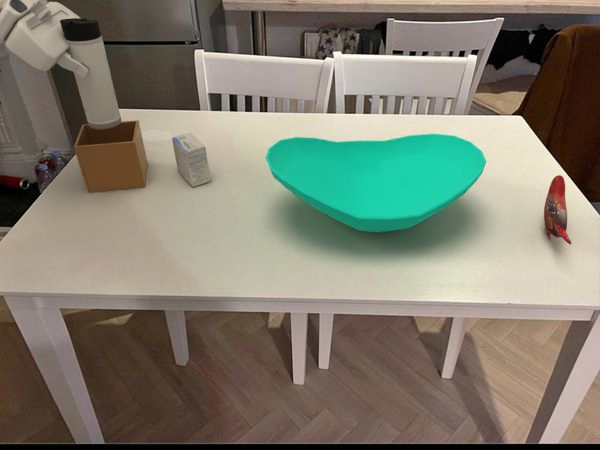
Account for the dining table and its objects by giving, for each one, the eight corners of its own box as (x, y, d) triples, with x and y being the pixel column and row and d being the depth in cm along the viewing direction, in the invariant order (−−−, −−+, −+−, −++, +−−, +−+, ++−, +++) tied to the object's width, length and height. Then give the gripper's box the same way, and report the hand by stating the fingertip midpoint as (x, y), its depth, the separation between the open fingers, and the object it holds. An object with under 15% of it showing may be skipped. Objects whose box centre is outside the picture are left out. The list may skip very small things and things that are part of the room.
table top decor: (269, 264, 79) (266, 200, 71) (266, 179, 101) (264, 123, 93) (494, 255, 82) (516, 192, 74) (444, 174, 104) (456, 118, 96)
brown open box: (88, 192, 96) (73, 147, 90) (95, 167, 105) (82, 124, 98) (145, 187, 98) (134, 142, 92) (147, 163, 107) (138, 120, 100)
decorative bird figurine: (548, 214, 92) (566, 170, 86) (566, 273, 78) (589, 226, 72) (533, 212, 92) (549, 168, 86) (548, 270, 79) (569, 223, 72)
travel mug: (80, 127, 91) (49, 19, 79) (102, 114, 96) (76, 11, 84) (106, 132, 90) (78, 23, 78) (128, 119, 95) (104, 14, 83)
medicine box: (211, 182, 100) (206, 146, 95) (191, 188, 98) (186, 151, 93) (195, 166, 105) (190, 131, 100) (177, 172, 103) (171, 136, 98)
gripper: (37, 10, 90) (101, 61, 96) (-16, 40, 73) (65, 99, 80) (53, -16, 87) (118, 38, 93) (2, 9, 71) (84, 73, 77)
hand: (93, 67), depth 86 cm, fingers closed on travel mug, 6 cm apart
